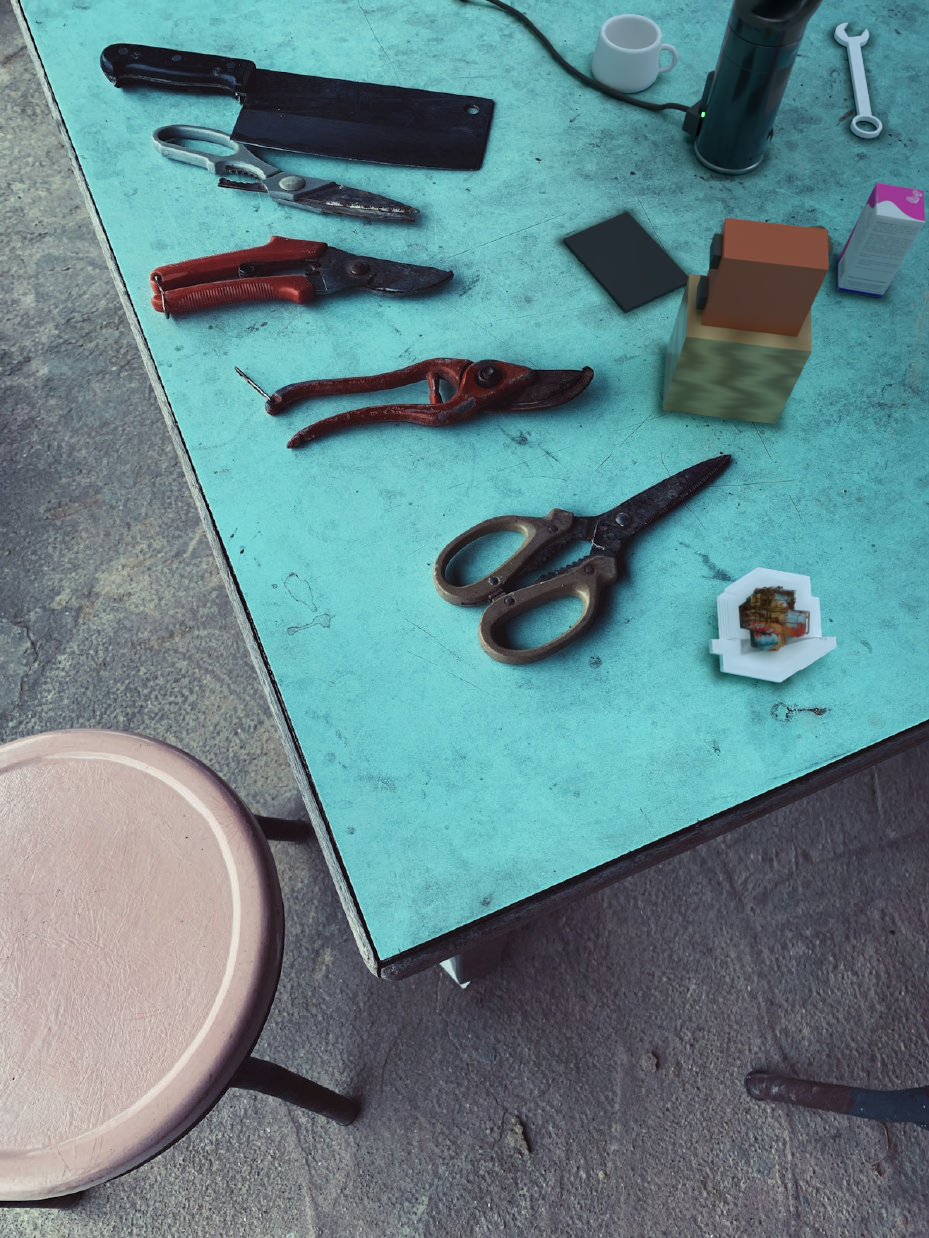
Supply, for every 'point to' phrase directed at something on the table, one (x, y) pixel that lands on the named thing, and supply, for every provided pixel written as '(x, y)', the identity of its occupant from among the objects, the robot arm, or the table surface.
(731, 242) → the block
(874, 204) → the supplement box
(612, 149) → the table surface
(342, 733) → the table surface
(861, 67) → the wrench
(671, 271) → the mat
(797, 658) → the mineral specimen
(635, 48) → the mug
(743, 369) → the stand
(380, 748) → the table surface
